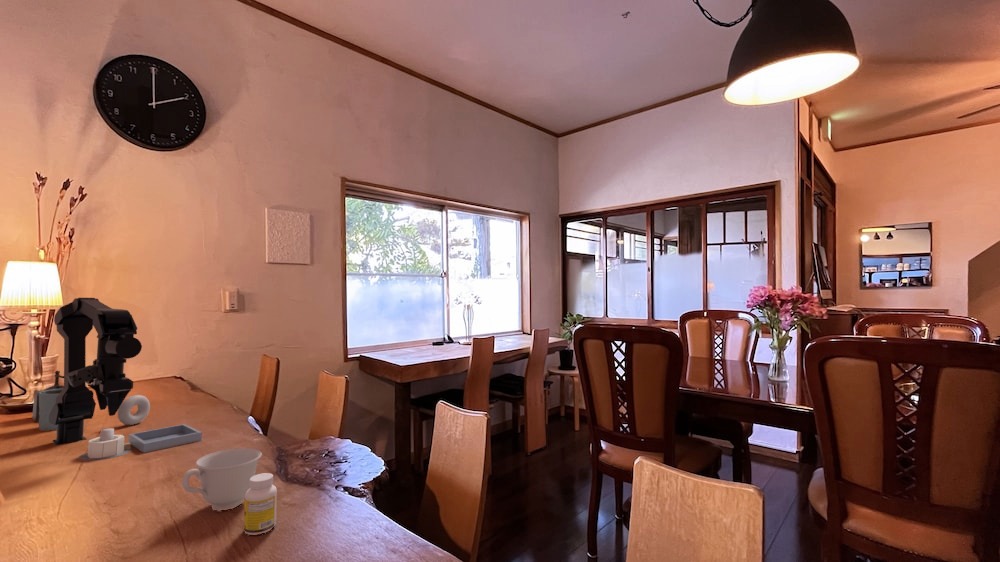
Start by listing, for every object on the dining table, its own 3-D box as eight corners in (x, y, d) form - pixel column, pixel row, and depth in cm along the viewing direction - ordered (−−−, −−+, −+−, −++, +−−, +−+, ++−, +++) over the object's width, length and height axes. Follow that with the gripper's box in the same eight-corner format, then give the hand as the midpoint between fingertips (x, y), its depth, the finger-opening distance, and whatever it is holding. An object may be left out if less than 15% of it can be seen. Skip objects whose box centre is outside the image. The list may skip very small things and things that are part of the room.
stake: (73, 456, 118) (75, 430, 119) (125, 446, 127) (126, 422, 128) (83, 466, 112) (85, 438, 112) (137, 454, 121) (138, 429, 121)
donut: (122, 429, 144) (123, 398, 144) (113, 428, 144) (115, 397, 145) (152, 421, 153) (153, 392, 154) (144, 420, 154) (145, 391, 154)
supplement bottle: (251, 522, 85) (253, 471, 86) (280, 521, 86) (282, 471, 86) (237, 537, 80) (240, 482, 81) (268, 536, 80) (270, 482, 81)
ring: (85, 454, 119) (86, 439, 119) (126, 446, 126) (126, 431, 126) (92, 460, 115) (92, 444, 115) (133, 451, 122) (134, 436, 122)
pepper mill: (35, 423, 149) (38, 370, 149) (31, 417, 155) (34, 366, 156) (96, 414, 161) (99, 365, 162) (90, 409, 168) (93, 362, 168)
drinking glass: (46, 424, 147) (48, 388, 148) (85, 421, 152) (87, 386, 152) (29, 433, 138) (31, 394, 139) (71, 429, 142) (73, 392, 143)
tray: (128, 444, 129) (129, 434, 129) (184, 433, 140) (184, 423, 140) (143, 454, 121) (144, 443, 121) (201, 442, 132) (201, 432, 132)
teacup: (164, 516, 87) (167, 465, 88) (238, 488, 100) (240, 444, 101) (198, 532, 82) (200, 477, 82) (272, 500, 95) (273, 453, 95)
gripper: (62, 354, 120) (58, 412, 119) (78, 362, 109) (74, 425, 108) (115, 351, 129) (112, 404, 128) (135, 357, 118) (131, 416, 117)
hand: (107, 412), depth 120 cm, fingers open, 9 cm apart
